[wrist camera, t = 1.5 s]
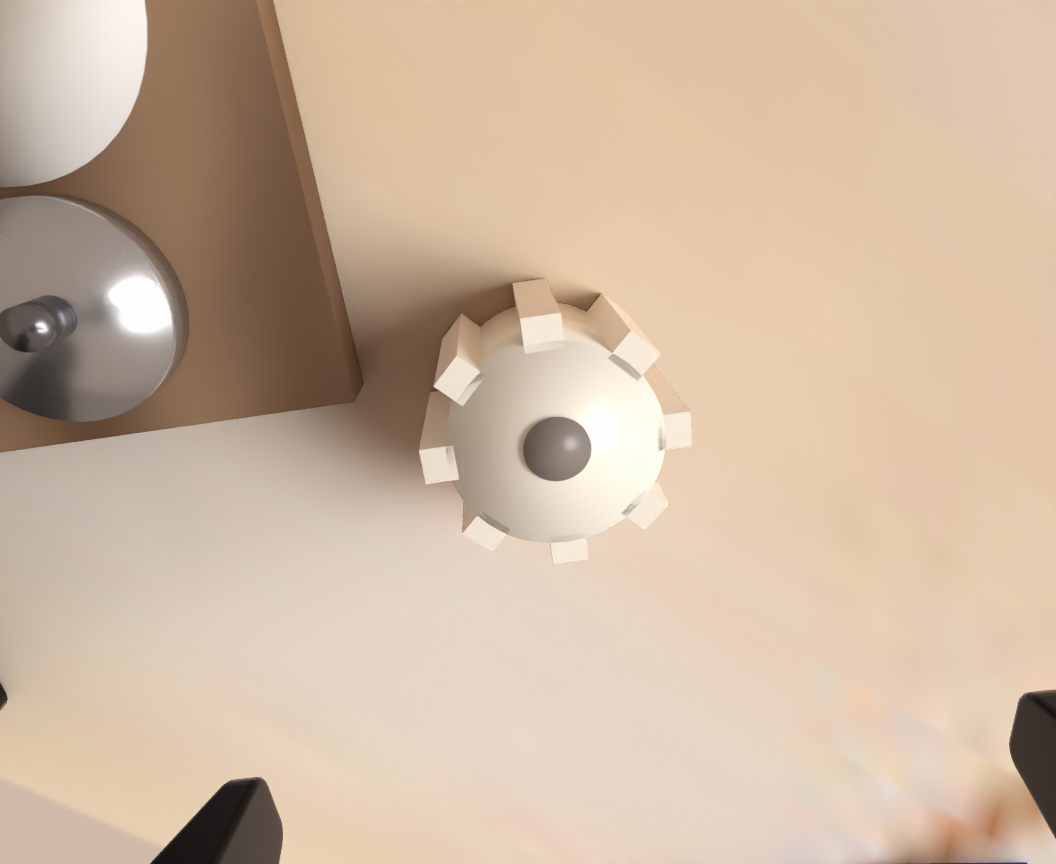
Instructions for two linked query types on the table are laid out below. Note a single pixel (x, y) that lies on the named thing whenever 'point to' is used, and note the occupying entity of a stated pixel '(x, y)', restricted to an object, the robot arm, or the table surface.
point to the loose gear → (551, 422)
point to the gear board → (184, 194)
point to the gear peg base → (84, 310)
